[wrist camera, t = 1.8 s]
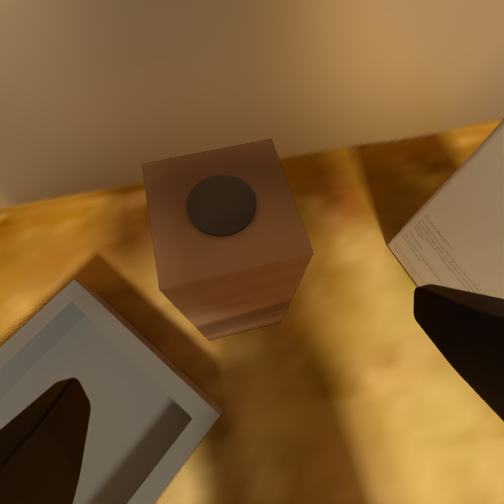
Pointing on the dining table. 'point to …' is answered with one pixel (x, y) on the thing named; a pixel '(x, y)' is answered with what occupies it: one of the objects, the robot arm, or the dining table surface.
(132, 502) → the tray
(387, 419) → the dining table surface
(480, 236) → the supplement box
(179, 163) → the block
